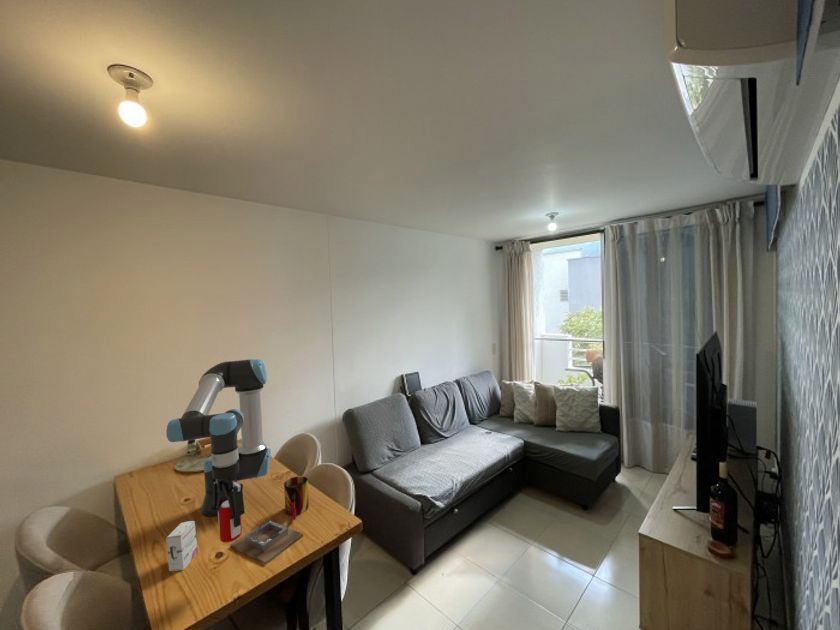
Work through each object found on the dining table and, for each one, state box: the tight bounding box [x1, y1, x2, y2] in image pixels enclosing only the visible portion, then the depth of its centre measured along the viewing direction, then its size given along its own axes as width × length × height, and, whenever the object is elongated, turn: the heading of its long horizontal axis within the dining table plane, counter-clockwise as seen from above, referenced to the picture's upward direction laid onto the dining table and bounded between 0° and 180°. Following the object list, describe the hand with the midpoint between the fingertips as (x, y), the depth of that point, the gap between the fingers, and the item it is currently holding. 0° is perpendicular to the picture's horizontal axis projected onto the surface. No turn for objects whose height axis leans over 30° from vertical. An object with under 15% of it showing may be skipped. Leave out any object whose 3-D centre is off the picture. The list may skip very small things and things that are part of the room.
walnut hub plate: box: [230, 519, 304, 566], centre depth 125 cm, size 20×16×1 cm
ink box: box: [165, 520, 198, 572], centre depth 117 cm, size 9×5×12 cm, turn 5°
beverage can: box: [218, 500, 243, 544], centre depth 110 cm, size 6×6×12 cm
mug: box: [283, 475, 310, 521], centre depth 144 cm, size 10×14×12 cm
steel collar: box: [245, 520, 289, 552], centre depth 125 cm, size 10×10×3 cm
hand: (229, 531), depth 110 cm, fingers closed on beverage can, 6 cm apart
